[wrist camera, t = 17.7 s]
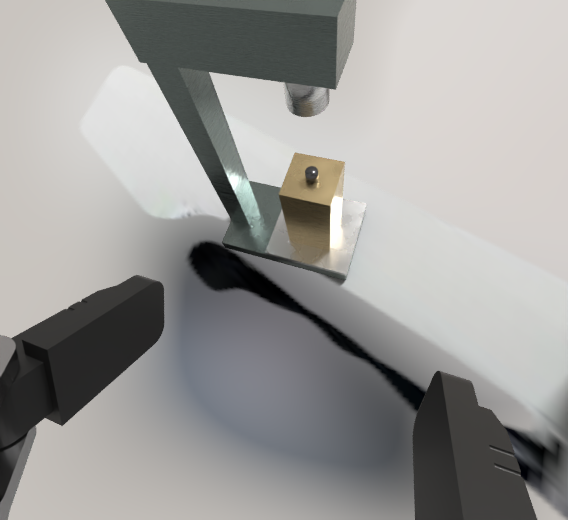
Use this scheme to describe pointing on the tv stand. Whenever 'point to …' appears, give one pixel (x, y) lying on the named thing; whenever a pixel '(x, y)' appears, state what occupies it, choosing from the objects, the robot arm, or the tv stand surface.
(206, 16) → the arbor press
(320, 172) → the block
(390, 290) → the tv stand surface
